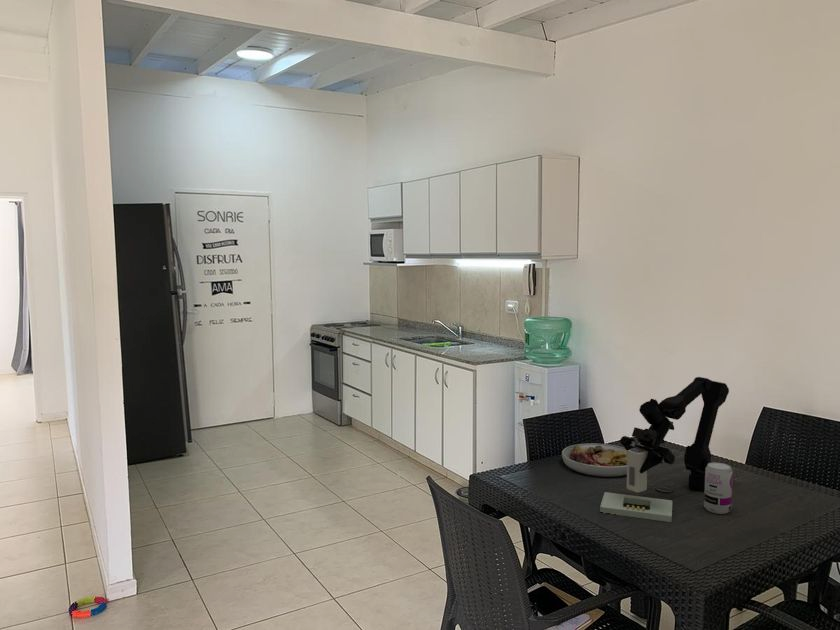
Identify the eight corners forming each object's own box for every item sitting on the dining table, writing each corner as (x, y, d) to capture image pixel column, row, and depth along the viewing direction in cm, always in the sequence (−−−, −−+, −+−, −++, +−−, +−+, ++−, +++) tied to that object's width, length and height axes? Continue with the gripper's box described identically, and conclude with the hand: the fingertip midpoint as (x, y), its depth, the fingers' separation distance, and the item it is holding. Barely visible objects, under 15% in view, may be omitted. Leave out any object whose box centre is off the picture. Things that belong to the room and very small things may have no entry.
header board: (672, 506, 227) (672, 497, 227) (671, 522, 214) (671, 512, 214) (604, 497, 235) (604, 488, 235) (600, 512, 222) (600, 503, 222)
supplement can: (729, 506, 227) (731, 463, 225) (732, 516, 219) (734, 471, 217) (703, 503, 229) (704, 460, 228) (704, 512, 222) (706, 468, 220)
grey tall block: (635, 485, 227) (636, 446, 226) (646, 489, 224) (647, 449, 222) (625, 488, 225) (626, 449, 223) (636, 493, 221) (637, 452, 219)
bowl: (589, 450, 290) (589, 432, 289) (654, 467, 268) (655, 447, 267) (546, 466, 269) (546, 446, 269) (613, 485, 247) (613, 465, 247)
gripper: (623, 412, 232) (600, 449, 227) (670, 424, 216) (647, 464, 211) (638, 431, 237) (616, 468, 232) (685, 444, 221) (662, 484, 217)
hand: (634, 470), depth 223 cm, fingers closed on grey tall block, 4 cm apart
